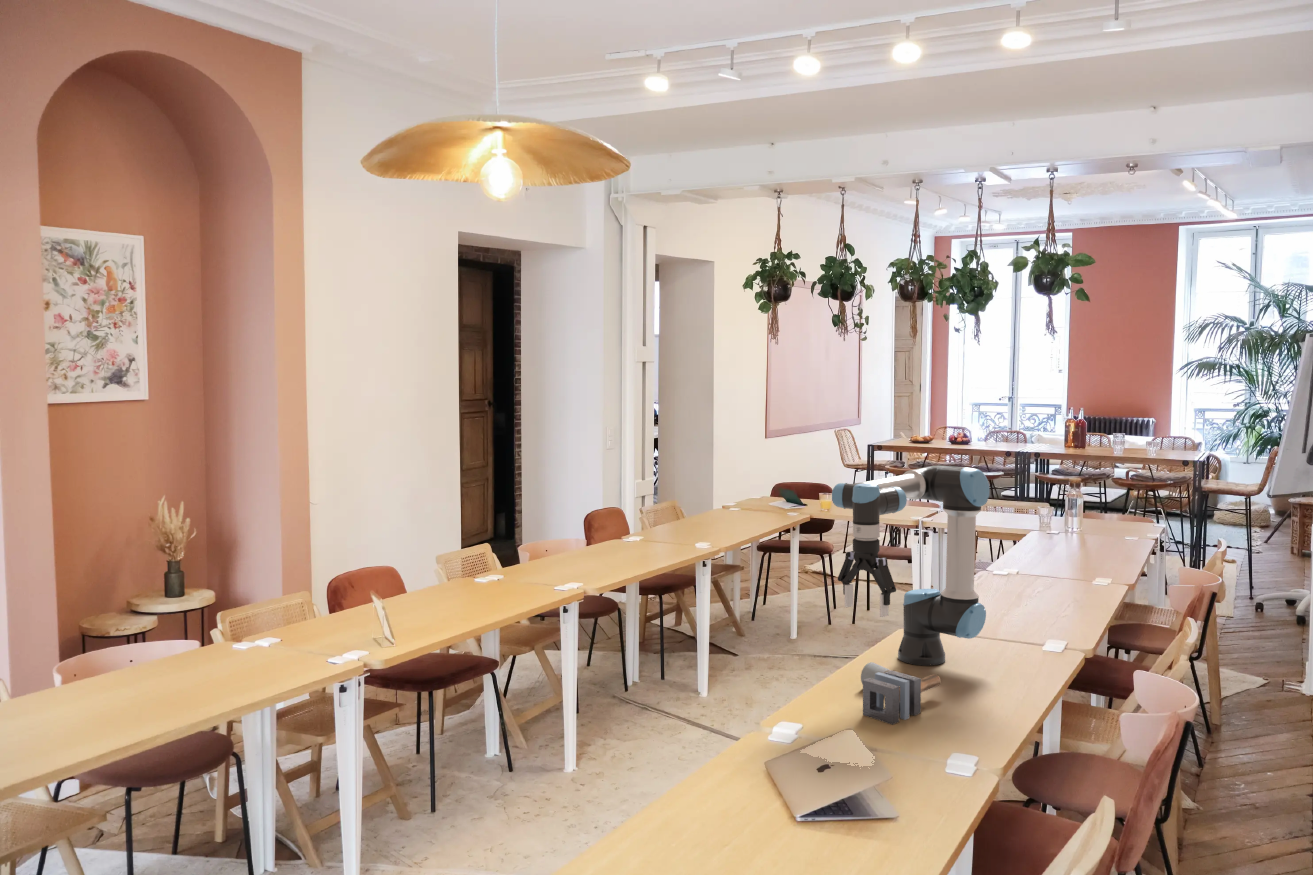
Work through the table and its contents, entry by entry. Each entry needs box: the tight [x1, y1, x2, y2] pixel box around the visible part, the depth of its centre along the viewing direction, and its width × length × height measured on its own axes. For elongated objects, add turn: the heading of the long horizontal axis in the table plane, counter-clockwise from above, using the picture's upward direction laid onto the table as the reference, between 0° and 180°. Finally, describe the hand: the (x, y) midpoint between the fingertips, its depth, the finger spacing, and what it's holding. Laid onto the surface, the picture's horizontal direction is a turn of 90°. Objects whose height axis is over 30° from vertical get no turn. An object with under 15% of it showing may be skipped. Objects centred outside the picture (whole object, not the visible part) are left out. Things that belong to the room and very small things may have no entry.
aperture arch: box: [875, 672, 910, 721], centre depth 274 cm, size 2×10×11 cm, turn 40°
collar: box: [862, 678, 900, 725], centre depth 271 cm, size 3×10×10 cm, turn 40°
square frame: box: [885, 669, 922, 717], centre depth 277 cm, size 3×10×10 cm, turn 40°
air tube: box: [899, 673, 942, 701], centre depth 281 cm, size 20×4×4 cm, turn 130°
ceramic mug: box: [860, 662, 891, 685], centre depth 295 cm, size 11×8×8 cm
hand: (866, 611), depth 281 cm, fingers open, 13 cm apart
